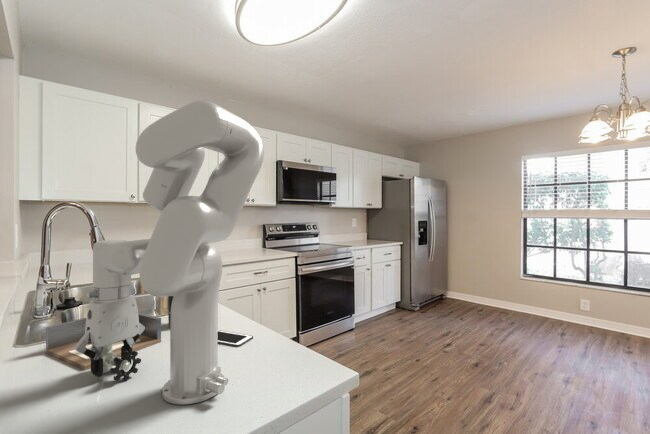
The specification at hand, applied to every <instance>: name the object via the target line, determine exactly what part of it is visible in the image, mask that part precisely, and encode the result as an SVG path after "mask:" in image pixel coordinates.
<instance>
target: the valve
mask: <svg viewBox="0 0 650 434" xmlns="http://www.w3.org/2000/svg"><path fill="white" fill-rule="evenodd" d="M122 354H123V355H124V357H122V358H121V357H119V358H118V355H117V354H115V353H113V351H112V344H111V345H108V346H105V347H104V348H103V351H102V354H101V357H100V358H102V359H103V374H106V373H107V372H109V373H110V374H112V375H115V374H116V375H115V376H113V381H116V382H119V381H120V380H121V378H122V380H123V381H129V380H130V377H131V376H130V374H137V373H138V371H139V368H137V367H136V366H137V365H138V364H141V363H142V358H140V357H137V356H138V354H139V352H138V351H132V355H129V354H130V353H129V351H124V352H123V353H122ZM130 359H131V362H132V363H131V364H130V362H128V360H130ZM129 368H130V369H129ZM128 369H129V370H128ZM125 370H127V371H125Z"/></svg>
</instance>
